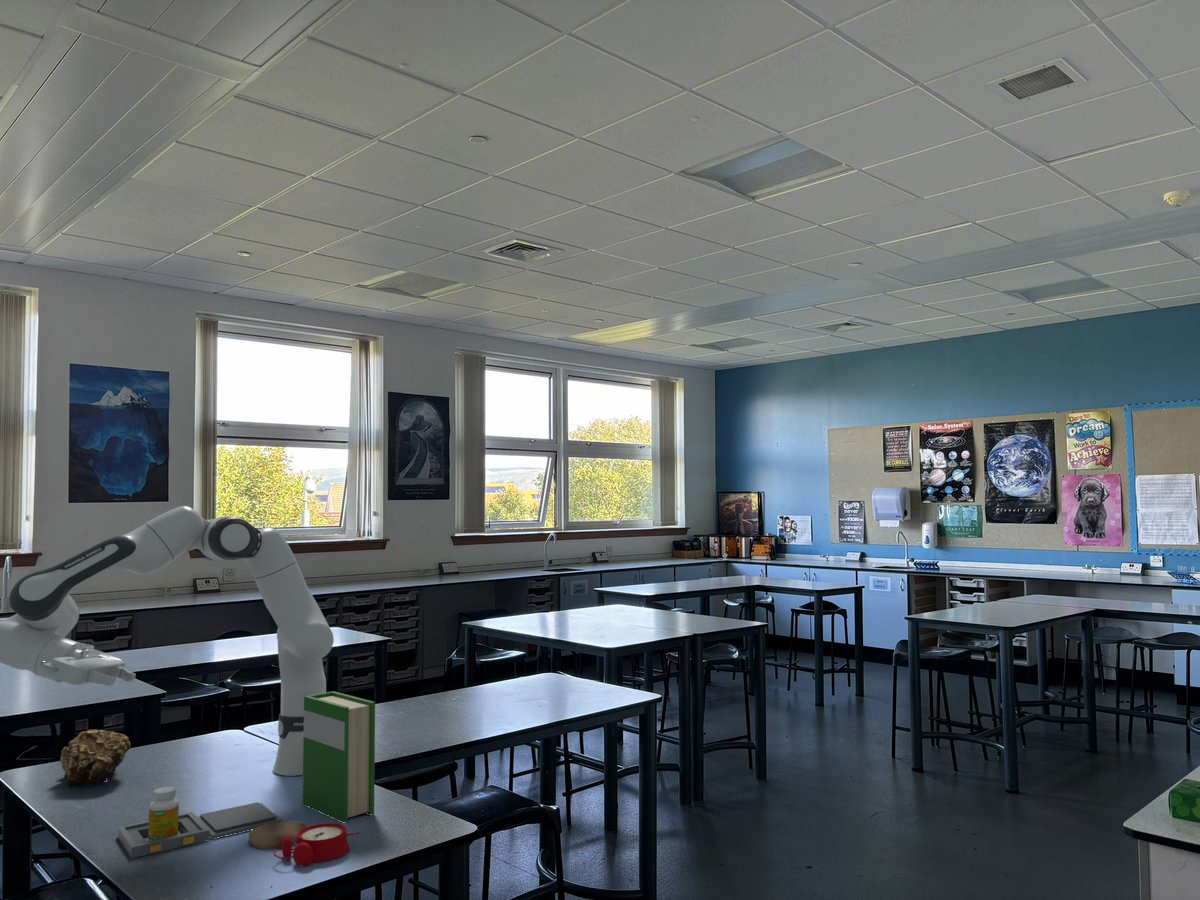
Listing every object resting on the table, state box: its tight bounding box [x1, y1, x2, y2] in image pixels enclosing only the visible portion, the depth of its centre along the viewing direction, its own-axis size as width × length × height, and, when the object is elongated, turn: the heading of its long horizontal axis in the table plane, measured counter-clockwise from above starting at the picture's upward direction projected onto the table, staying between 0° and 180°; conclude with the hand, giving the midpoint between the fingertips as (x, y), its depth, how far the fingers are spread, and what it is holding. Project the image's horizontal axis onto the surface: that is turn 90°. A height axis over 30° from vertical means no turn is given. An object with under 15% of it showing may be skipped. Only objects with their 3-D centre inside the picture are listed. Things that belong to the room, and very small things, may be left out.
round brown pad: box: [248, 820, 308, 850], centre depth 174 cm, size 11×11×2 cm
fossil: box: [60, 728, 131, 788], centre depth 214 cm, size 23×14×15 cm, turn 39°
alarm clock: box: [272, 822, 360, 867], centre depth 165 cm, size 10×6×15 cm
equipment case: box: [117, 801, 283, 859], centre depth 178 cm, size 28×15×2 cm, turn 129°
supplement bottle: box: [148, 786, 180, 841], centre depth 174 cm, size 5×5×10 cm
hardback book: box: [302, 690, 376, 823], centre depth 191 cm, size 18×7×24 cm, turn 47°
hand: (123, 680), depth 186 cm, fingers open, 8 cm apart
